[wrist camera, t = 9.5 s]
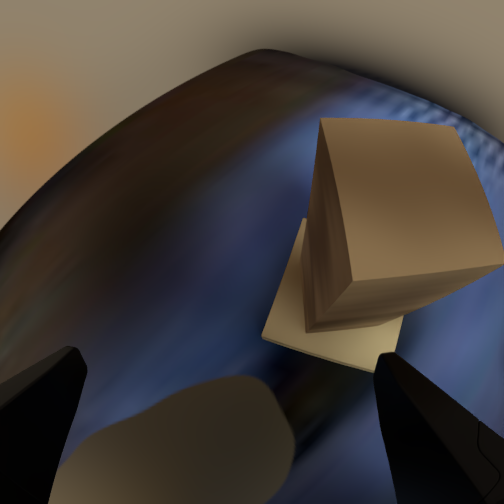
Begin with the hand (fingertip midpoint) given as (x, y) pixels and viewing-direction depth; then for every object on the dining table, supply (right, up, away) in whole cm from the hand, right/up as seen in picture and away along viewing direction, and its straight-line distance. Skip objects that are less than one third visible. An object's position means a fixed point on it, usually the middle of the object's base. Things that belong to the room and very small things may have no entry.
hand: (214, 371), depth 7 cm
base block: (+8, -1, +14) cm, 16 cm away
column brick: (+7, 0, +12) cm, 13 cm away
